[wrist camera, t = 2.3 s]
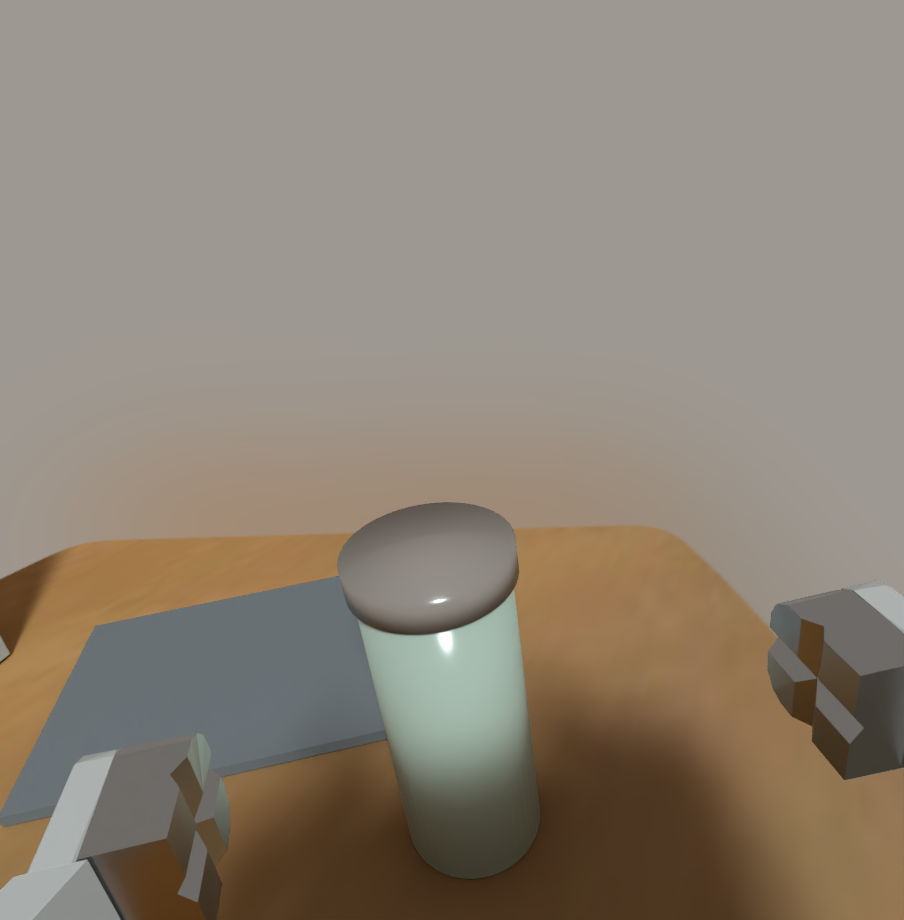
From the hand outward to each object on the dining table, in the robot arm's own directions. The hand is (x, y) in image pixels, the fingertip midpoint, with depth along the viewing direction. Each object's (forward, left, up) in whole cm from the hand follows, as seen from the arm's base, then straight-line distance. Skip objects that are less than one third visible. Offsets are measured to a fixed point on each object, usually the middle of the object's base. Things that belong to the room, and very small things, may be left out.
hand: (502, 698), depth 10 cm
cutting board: (-11, +24, -18) cm, 32 cm away
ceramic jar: (0, +12, -18) cm, 22 cm away
